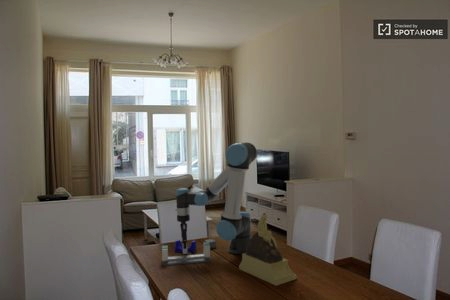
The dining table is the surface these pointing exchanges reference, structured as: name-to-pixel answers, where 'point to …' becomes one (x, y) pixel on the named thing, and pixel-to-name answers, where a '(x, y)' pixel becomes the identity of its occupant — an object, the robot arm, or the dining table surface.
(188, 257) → the rail
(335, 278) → the dining table surface
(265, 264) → the yellow and brown statuette
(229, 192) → the robot arm
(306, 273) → the dining table surface
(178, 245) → the cable clip
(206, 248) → the mounted modules
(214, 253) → the dining table surface
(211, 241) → the block
